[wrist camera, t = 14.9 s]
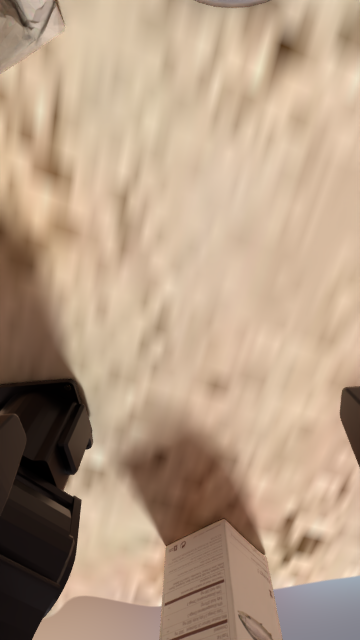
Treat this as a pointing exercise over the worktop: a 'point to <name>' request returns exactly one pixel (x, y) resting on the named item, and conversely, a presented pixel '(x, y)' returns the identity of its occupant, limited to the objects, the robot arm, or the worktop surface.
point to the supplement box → (217, 589)
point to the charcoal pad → (232, 3)
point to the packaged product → (26, 28)
